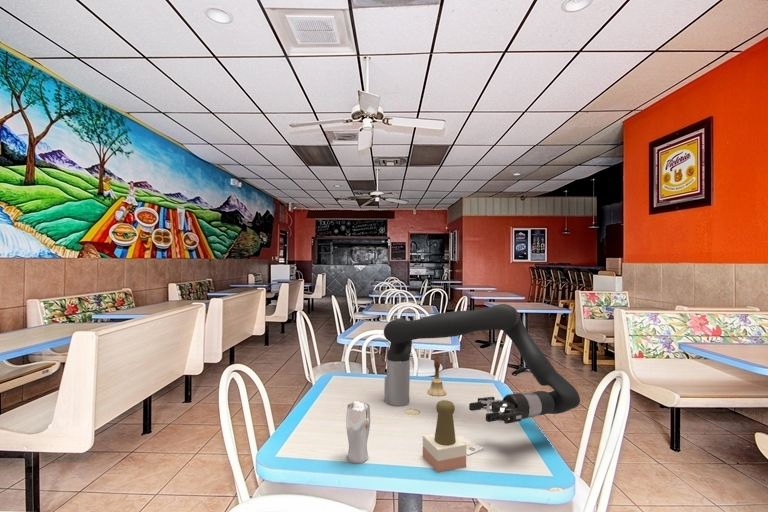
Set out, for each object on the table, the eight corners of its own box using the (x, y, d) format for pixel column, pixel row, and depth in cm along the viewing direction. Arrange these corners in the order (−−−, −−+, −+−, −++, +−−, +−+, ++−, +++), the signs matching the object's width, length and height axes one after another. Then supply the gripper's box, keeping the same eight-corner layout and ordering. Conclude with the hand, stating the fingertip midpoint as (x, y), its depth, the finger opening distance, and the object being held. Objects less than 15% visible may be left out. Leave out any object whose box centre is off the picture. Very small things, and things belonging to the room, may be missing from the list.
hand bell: (423, 391, 169) (423, 354, 169) (438, 388, 172) (439, 352, 173) (434, 397, 161) (435, 359, 161) (450, 394, 165) (451, 357, 165)
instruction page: (444, 442, 122) (444, 441, 122) (459, 436, 126) (459, 435, 126) (468, 455, 114) (468, 454, 114) (483, 449, 118) (483, 447, 118)
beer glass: (373, 454, 114) (374, 403, 114) (364, 466, 107) (365, 412, 107) (351, 450, 116) (352, 400, 116) (341, 461, 109) (342, 408, 109)
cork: (455, 446, 107) (456, 406, 107) (433, 444, 108) (434, 404, 108) (455, 436, 113) (456, 398, 113) (434, 434, 114) (435, 397, 114)
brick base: (422, 456, 113) (422, 435, 113) (449, 451, 116) (449, 431, 116) (437, 472, 105) (437, 450, 105) (466, 466, 108) (466, 444, 108)
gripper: (507, 386, 127) (464, 391, 121) (539, 401, 113) (492, 408, 108) (507, 409, 127) (464, 415, 121) (538, 427, 113) (492, 435, 108)
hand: (477, 412), depth 114 cm, fingers open, 8 cm apart
